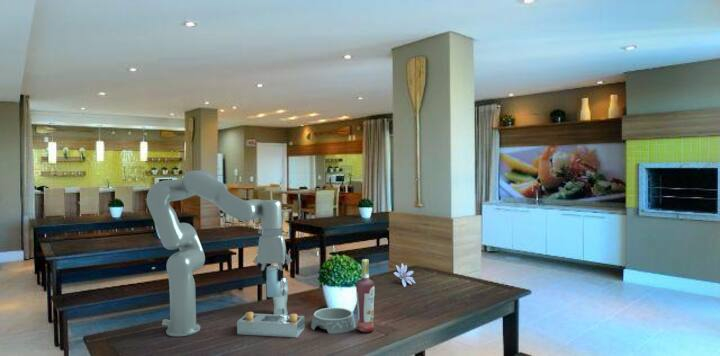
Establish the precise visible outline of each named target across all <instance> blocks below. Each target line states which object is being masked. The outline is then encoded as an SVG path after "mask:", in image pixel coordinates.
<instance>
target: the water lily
mask: <svg viewBox="0 0 720 356" xmlns="http://www.w3.org/2000/svg"><path fill="white" fill-rule="evenodd" d="M395 267H396V270H397V271H395V272H393V274H394V275H395V277H397V278H400V279H399V280H398V281H397V283H400V282H401V283H402V286H403V287H404V288H405V287H406V286H407V283H408V284H409V285H412V284H416V281H415V280H414V278H413V276H411V275H413V274H414V270H408V266H407V264H405V265H404V263H403V262H402V263H401V266H399V265H397V264H396V265H395ZM407 270H408V271H407Z"/></svg>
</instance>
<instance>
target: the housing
mask: <svg viewBox="0 0 720 356" xmlns="http://www.w3.org/2000/svg"><path fill="white" fill-rule="evenodd" d="M289 315H290V314H286V315H275V314H274V313H273V314H271V313H254V312H253V319H252V320H251V321H250V320H246V314H244V315H243V316H242V317H241V318H240V319H238V320H237V321H236V329H237V333H236V334H237V335H246V336H264V337H265V336H266V337H281V338H299V335H301V333H302V332H303V331H304V330H305V325H306V324H305V323H306V322H305V315H297V322H296V323H290V318H289Z"/></svg>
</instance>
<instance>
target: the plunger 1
mask: <svg viewBox="0 0 720 356" xmlns="http://www.w3.org/2000/svg"><path fill="white" fill-rule="evenodd" d="M253 313H254V311H246V312H245V315H246V320H250V321H251V320H252V319H253Z"/></svg>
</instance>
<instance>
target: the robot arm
mask: <svg viewBox="0 0 720 356" xmlns="http://www.w3.org/2000/svg"><path fill="white" fill-rule="evenodd" d="M193 196H194V197H195V196H197V197H200V198H202V199H204V200H206V201H208V202H210V203H212V204H214V205H215V207H216V208H218V209H219V210H220V211H222V212H223V213H225V214H227V215H228V216H230V217H233V218H234V219H236V220H239V221H242V222H250V221H252V220H256V219H261V228H260V229H258V230H257V233H258V234H260V235H261V236H259V239H258V246H257V247H258V248H257V256H255V258H254V259H253V260H252V262H253V264H255V265H256V266H257V267H258V268H259V269H260V271H261V276H262V277H261V278H262V279H263V282H266V269H267V265H269V264H271V265H272V264H277V266H278V268H279V271H278V280H279V281H281V280H282V278H284V269H285V268H286V267H288V265H289V264H290V263H292V262H293V259H291V257H290V256H289V255H288V253H287V247H286V241H285V240H286V239H285V236H284V235H283V228H282V227H283V225H282V222H283V221H282V219H283V217H282V214H283V213H282V202H281V201H280V200H278V199H265V200H263V199H258V198H257V199H256V198H254V199H253V198H252V199H248V200H245V199H243V198H240V197H238V196H236V195H234V194H232V193H231V192H230V191H229V190H228V186H227V184H225V183H224V182H223V181H220V180H217V179H215V177H214V176H213V174H212V173H211V172H209V171H208V170H202V169H200V170H190V171H188V172H186V173H185V174H184V175H183V177H181V178H179V179H165V180H161V181H157V182H156V183H154V184H152V186H151V187H150V188H149V190H148V191H147V195H146V205H147V208H148V210H149V213H150V215H151V217H152V219H153V221H154V226H155V228H156V231H157V233H158V236H159V239H160V242H161V244H162V245H163V248H165V249H166V250H172V251H174V250H177V249H179V251H177V252H175V253H173V254H171V256H170V257H168V259H167V261H166V271H167V277H168V278H167V279H168V286H169V289H168V290H169V318H170V319H167V318H164V319H162V322H161V326H162V327H167V328H166V330H165V331H166V335H167V336H169V337H175V338H176V337H178V338H180V337H186V336H192V335H194V334H196V333H198V332H200V330H201V325H200V324H199V323H197V309H196V308H197V305H196V303H197V302H196V296H197V295H196V282H195V279H194V276H193V272H196V271H198V270H200V269H201V268H202V267H203V266H204V264H205V262H206V256H205V252H204V249H203V246H202V244H201V242H200V241H201V240H200V238H199V236H198V233H197V230H196V229H195V227H193V226H192V224H190V223H187V222H180V220H179V218H178V216H177V213H176V210H175V209H174V208H173V207H172V206H171V204H170V203H171V202H176V201H182V200H185V199H188V198H191V197H193Z"/></svg>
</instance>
